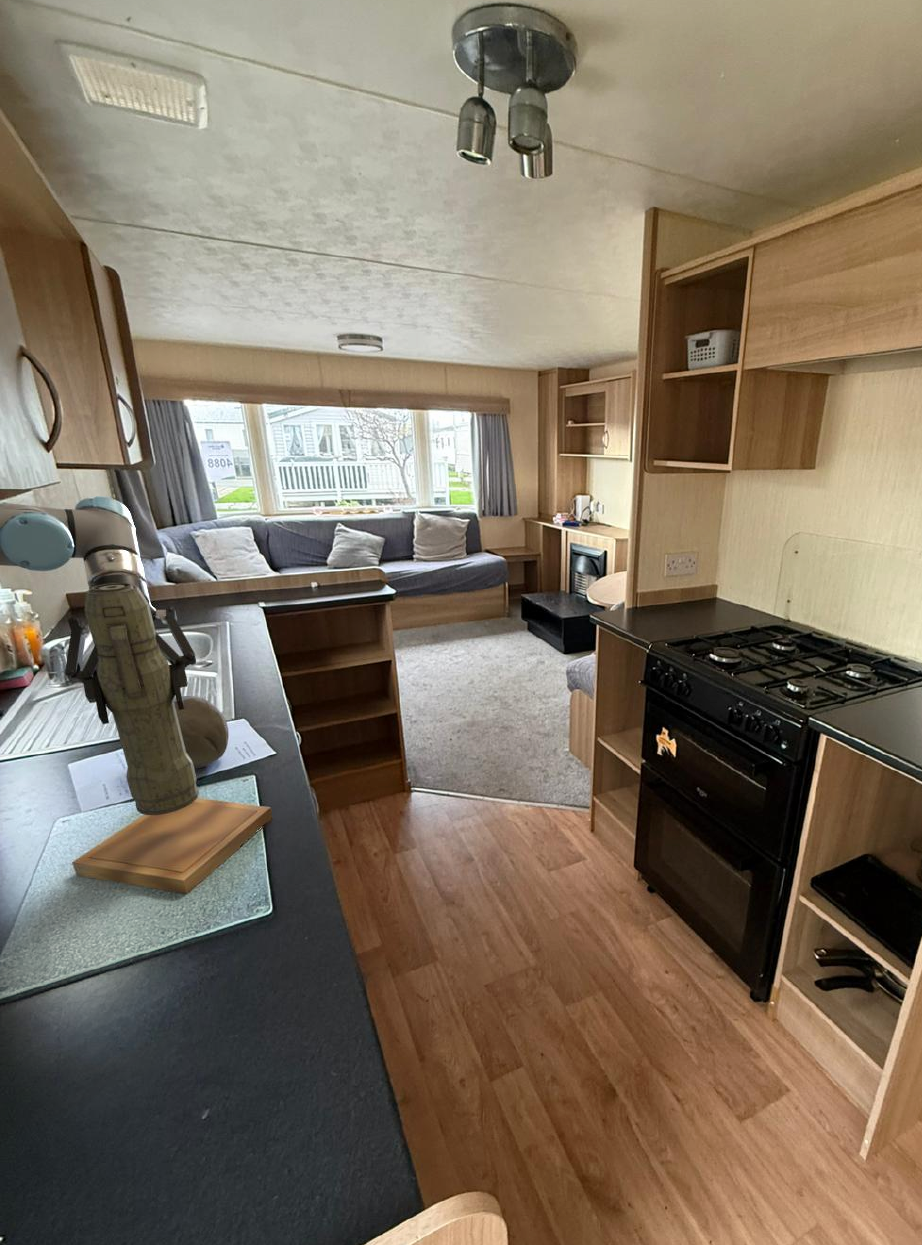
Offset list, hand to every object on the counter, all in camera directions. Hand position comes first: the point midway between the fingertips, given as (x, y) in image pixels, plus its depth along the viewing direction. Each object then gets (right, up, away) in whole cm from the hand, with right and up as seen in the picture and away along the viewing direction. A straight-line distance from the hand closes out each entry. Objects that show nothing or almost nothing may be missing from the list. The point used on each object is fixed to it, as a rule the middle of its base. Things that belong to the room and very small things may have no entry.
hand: (143, 712), depth 90 cm
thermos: (-2, -15, +9) cm, 17 cm away
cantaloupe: (-15, -13, +38) cm, 43 cm away
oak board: (-2, -23, +12) cm, 26 cm away
